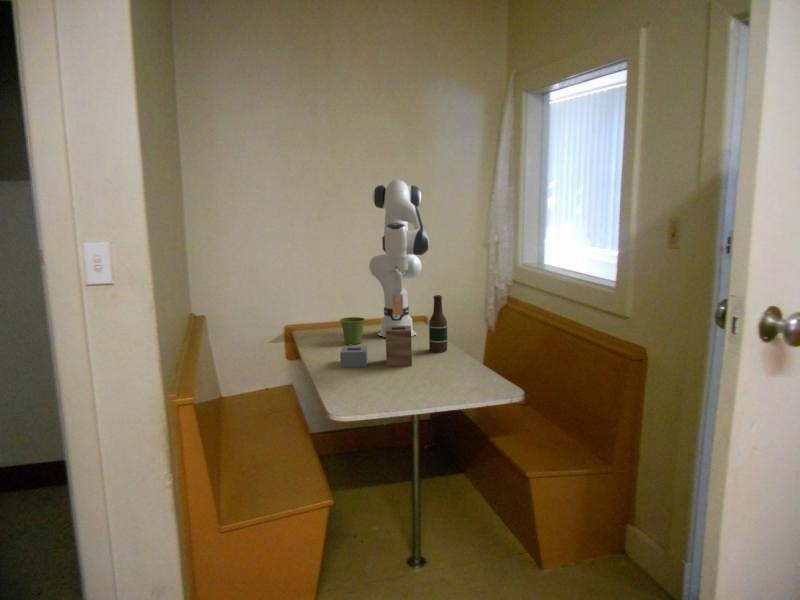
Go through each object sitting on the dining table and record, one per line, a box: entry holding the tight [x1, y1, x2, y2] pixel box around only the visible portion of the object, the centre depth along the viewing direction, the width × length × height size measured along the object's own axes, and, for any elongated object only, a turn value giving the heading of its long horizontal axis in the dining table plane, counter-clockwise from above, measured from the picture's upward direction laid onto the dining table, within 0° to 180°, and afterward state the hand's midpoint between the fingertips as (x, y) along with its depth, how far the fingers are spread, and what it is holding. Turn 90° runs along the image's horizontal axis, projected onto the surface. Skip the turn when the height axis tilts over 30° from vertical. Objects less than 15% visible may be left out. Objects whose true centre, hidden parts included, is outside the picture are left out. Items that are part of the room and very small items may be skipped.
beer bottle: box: [428, 294, 448, 353], centre depth 256 cm, size 8×8×24 cm
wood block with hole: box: [385, 326, 413, 367], centre depth 239 cm, size 10×10×14 cm
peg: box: [392, 294, 403, 315], centre depth 237 cm, size 3×4×8 cm
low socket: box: [339, 345, 369, 368], centre depth 240 cm, size 10×10×6 cm
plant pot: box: [339, 316, 366, 345], centre depth 274 cm, size 12×12×11 cm
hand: (397, 300), depth 236 cm, fingers closed on peg, 3 cm apart
